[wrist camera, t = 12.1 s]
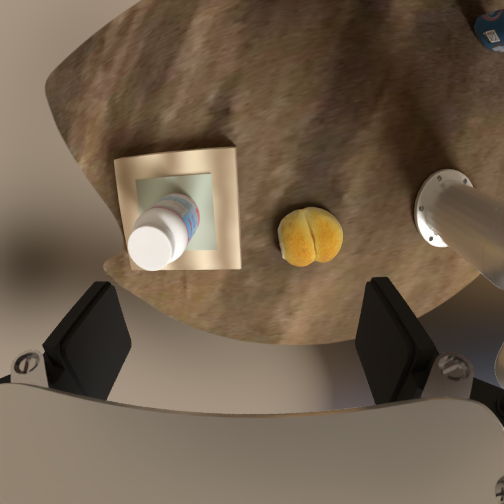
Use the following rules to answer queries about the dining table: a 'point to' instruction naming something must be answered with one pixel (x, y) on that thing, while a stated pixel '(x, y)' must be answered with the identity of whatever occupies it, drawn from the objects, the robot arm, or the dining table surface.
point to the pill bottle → (163, 231)
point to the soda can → (491, 30)
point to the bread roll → (309, 236)
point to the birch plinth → (195, 187)
